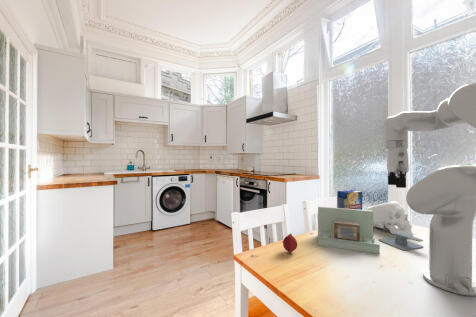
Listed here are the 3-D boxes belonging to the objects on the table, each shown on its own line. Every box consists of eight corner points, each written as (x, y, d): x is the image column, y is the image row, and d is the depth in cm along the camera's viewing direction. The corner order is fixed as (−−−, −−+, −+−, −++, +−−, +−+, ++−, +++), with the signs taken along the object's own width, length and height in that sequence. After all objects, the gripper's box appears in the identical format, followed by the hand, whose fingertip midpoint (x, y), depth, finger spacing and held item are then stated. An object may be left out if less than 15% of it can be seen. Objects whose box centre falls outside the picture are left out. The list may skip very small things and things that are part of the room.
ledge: (379, 253, 87) (379, 217, 87) (317, 244, 96) (318, 212, 96) (372, 242, 99) (372, 210, 99) (317, 235, 107) (318, 206, 107)
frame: (359, 243, 91) (359, 225, 91) (334, 240, 95) (334, 222, 95) (358, 240, 95) (358, 223, 95) (334, 237, 98) (334, 220, 98)
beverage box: (362, 232, 112) (362, 191, 112) (348, 235, 108) (348, 192, 107) (350, 228, 118) (350, 189, 118) (336, 231, 114) (337, 191, 114)
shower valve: (411, 241, 87) (377, 229, 102) (410, 254, 87) (377, 241, 102) (431, 238, 91) (396, 227, 105) (431, 251, 91) (396, 238, 105)
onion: (287, 256, 84) (287, 236, 84) (280, 250, 90) (280, 231, 90) (299, 254, 86) (300, 235, 86) (292, 248, 91) (292, 230, 91)
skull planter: (410, 236, 101) (390, 198, 109) (372, 242, 117) (357, 209, 125) (424, 232, 108) (404, 196, 116) (386, 238, 123) (371, 206, 131)
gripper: (416, 143, 79) (416, 189, 79) (399, 146, 95) (399, 184, 95) (393, 144, 81) (393, 188, 81) (379, 146, 97) (379, 183, 97)
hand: (396, 186), depth 88 cm, fingers open, 9 cm apart
